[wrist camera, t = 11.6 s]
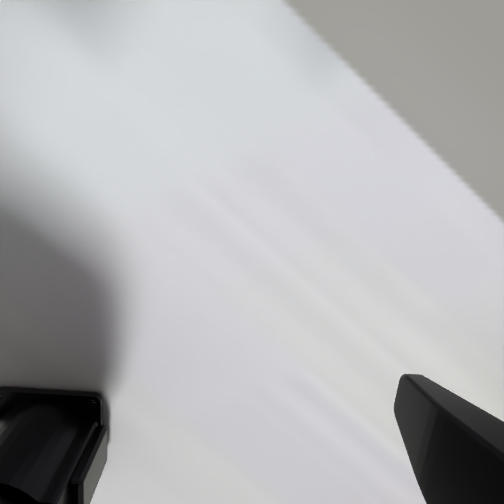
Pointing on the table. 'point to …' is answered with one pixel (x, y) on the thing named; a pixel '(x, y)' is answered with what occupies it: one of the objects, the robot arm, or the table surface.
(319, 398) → the table surface
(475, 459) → the robot arm
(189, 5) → the table surface
